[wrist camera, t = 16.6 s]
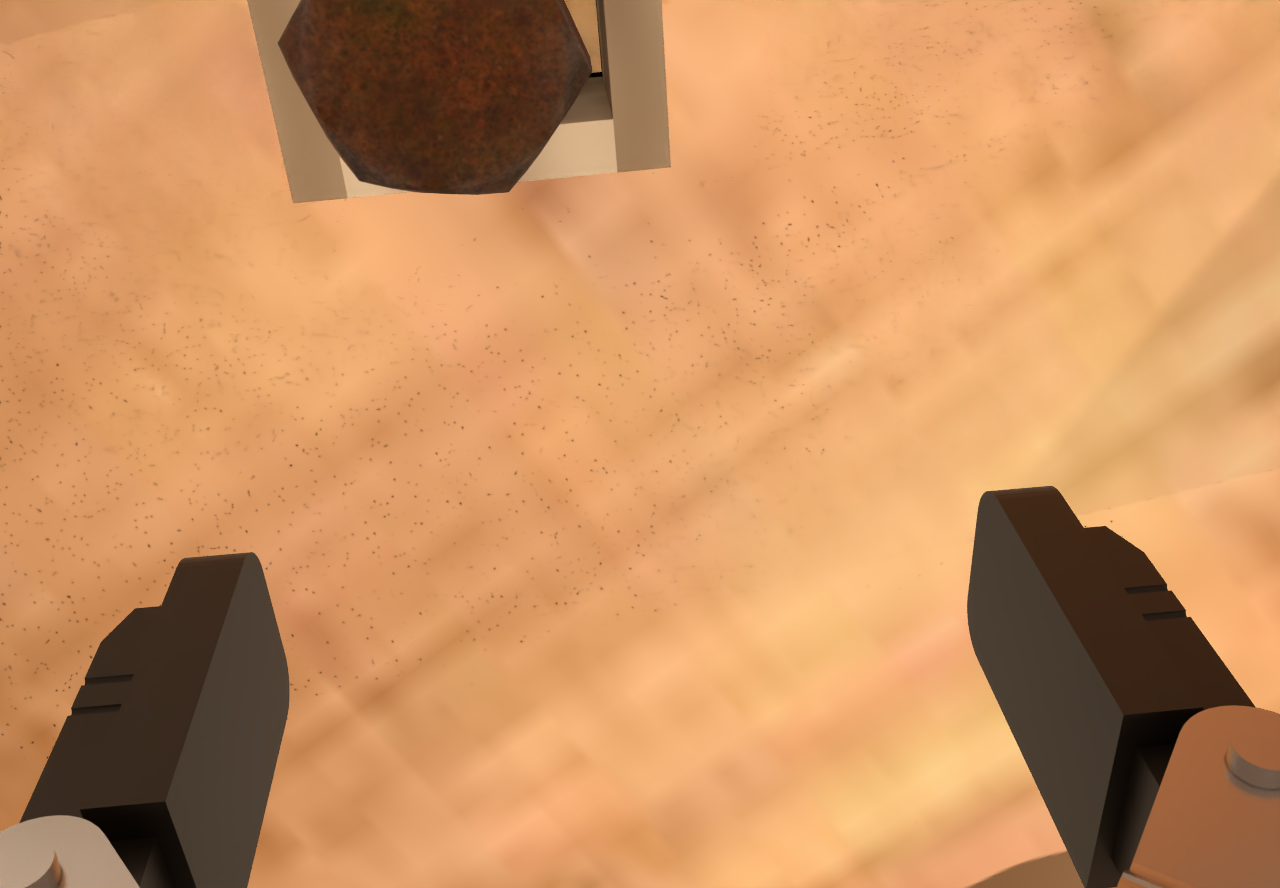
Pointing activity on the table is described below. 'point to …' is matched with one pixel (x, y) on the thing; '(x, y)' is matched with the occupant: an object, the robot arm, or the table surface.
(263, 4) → the socket block
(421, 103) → the bolt
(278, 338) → the table surface
